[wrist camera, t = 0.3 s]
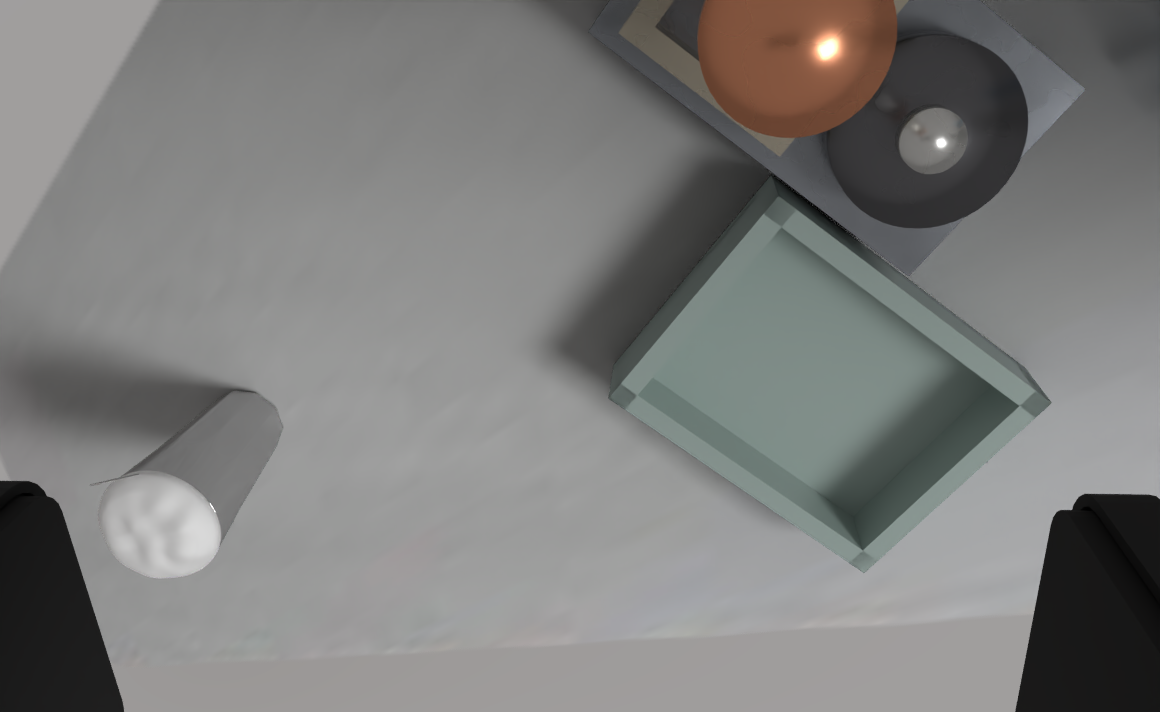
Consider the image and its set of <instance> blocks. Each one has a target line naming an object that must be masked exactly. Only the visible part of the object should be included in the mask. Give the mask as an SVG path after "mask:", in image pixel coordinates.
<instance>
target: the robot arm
mask: <svg viewBox="0 0 1160 712" xmlns="http://www.w3.org/2000/svg"><path fill="white" fill-rule="evenodd" d="M0 712H124V707H123V702H122V698H121V695H120V692H119V689H118V686H117V683H116V679H115V677H114V673H113V670H112V667H111V664H110V661H109V657H108V654H107V651H106V648H105V645H104V642H103V639H102V635H101V632H100V629H99V626H98V623H97V620H96V617H95V613H94V610H93V607H92V604H91V601H90V598H89V595H88V591H87V588H86V585H85V582H84V579H83V576H82V573H81V569H80V566H79V563H78V560H77V557H76V554H75V551H74V547H73V544H72V541H71V538H70V535H69V532H68V529H67V525H66V522H65V519H64V516H63V513H62V510H61V508H60V506H59V504H58V503H57V502H56V501H55V500H54V499H53V498H51V497H48V496H46V494H45V492H44V490H43V489H42V488H41V487H40V486H39V485H38V484H35V483H32V482H30V481H0ZM1015 712H1160V499H1159V498H1158V497H1156V496H1152V495H1132V494H1084V495H1082V496H1080V497H1078V499H1077V500H1076V502H1075V504H1074V506H1073V509H1072V510H1060V511H1058V512H1057V513H1056V514H1055V516H1054V517H1053V520H1052V524H1051V528H1050V533H1049V538H1048V543H1047V549H1046V554H1045V559H1044V564H1043V569H1042V575H1041V580H1040V585H1039V590H1038V596H1037V601H1036V606H1035V611H1034V617H1033V622H1032V628H1031V632H1030V638H1029V643H1028V648H1027V653H1026V659H1025V664H1024V669H1023V674H1022V679H1021V685H1020V690H1019V696H1018V701H1017V706H1016V711H1015Z"/></svg>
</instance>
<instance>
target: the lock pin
mask: <svg viewBox="0 0 1160 712" xmlns="http://www.w3.org/2000/svg"><path fill="white" fill-rule="evenodd" d="M896 40H897V15H896V8H895V4H894V0H705V1H704V4H703V7H702V10H701V13H700V18H699V23H698V33H697V45H698V56H699V61H700V67H701V71H702V74H703V77H704V80H705V82H706V85H707V87H708V89H709V91H710V93H711V94H712V96H713V97H714V99H715V100H716V102H717V103H718V104H719V105H720V107H721V108H722V109H723V110H724V111H725V112H726V113H727V114H728V115H729V116H730V117H731V118H733V119H734V120H735V121H737V122H738V123H740V124H741V125H743V126H744V127H747V128H749V129H751V130H753V131H755V132H758V133H761V134H764V135H768V136H773V137H779V138H798V137H806V136H811V135H816V134H819V133H822V132H825V131H827V130H830V129H832V128H834V127H836V126H838V125H840V124H842V123H843V122H845V121H846V120H848V119H849V118H851V117H852V116H853V115H854V114H856V113H857V112H858V111H859V110H861V109H862V108H863V107H864V105H865V104H866V103H867V102H868V101H869V100H870V99H871V98H872V97H873V95H874V94H875V93H876V91H877V90H878V89H879V87H880V85H881V83H882V82H883V80H884V78H885V77H886V74H887V72H888V70H889V67H890V65H891V62H892V58H893V55H894V52H895V46H896Z"/></svg>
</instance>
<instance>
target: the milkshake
mask: <svg viewBox="0 0 1160 712" xmlns="http://www.w3.org/2000/svg"><path fill="white" fill-rule="evenodd" d="M282 430H283V425H282V423H281V420H280V418H279V415H278V412H277V410H276V407H275V406H273V405H272V404H271V403H269V402H268V401H267V400H265V399H264V398H263V397H261V396H260V395H259V394H257V393H253V392H244V391H237V390H233V391H232V392H230V393H228V394H226V395H225V396H223V397H221V398H219V399H217V400H216V401H214V402H213V403H212V404H211V405H210V406H208V407H207V408H206V409H205V410H204V411H202V412H201V413H200V414H199V415H198V416H196V417H195V418H194V419H193V420H192V421H190V422H189V423H188V424H187V425H186V426H184V427H183V428H182V429H181V430H180V431H178V432H177V433H176V434H175V435H174V436H172V437H171V438H170V439H169V440H167V441H166V442H165V443H164V444H163V445H161V446H160V447H159V448H158V449H156V450H155V451H154V452H152V453H151V454H150V455H148V456H147V457H146V458H144V459H143V460H142V461H140V462H139V463H138V464H136V465H135V466H134V467H133V468H131V469H130V470H129V471H127V472H126V473H125V474H123V475H122V476H121V477H119V478H115V479H111V480H107V481H103V482H98V483H94V484H90V486H93V485H99V484H104V483H108V482H112V481H114V482H113V483H111V484H110V485H109V487H108V488H107V489H106V490H105V492H104V494H103V496H102V498H101V501H100V504H99V509H98V521H99V525H100V529H101V531H102V534H103V536H104V538H105V541H106V543H107V545H108V547H109V549H110V550H111V552H112V553H113V555H114V556H115V557H116V558H117V559H118V560H119V561H120V562H121V563H122V564H123V565H124V566H126V567H127V568H129V569H131V570H133V571H135V572H138V573H140V574H142V575H145V576H148V577H151V578H174V577H182V576H187V575H190V574H193V573H195V572H197V571H199V570H201V569H202V568H204V567H205V566H206V565H207V564H208V563H209V562H210V561H211V560H212V559H213V558H214V557H215V555H216V553H217V551H218V549H219V547H220V545H221V543H222V542H223V540H224V538H225V536H226V534H227V532H228V530H229V529H230V527H231V525H232V523H233V521H234V519H235V517H236V515H237V513H238V512H239V510H240V508H241V506H242V504H243V503H244V501H245V499H246V498H247V496H248V494H249V493H250V491H251V489H252V488H253V486H254V484H255V483H256V481H257V479H258V477H259V476H260V474H261V472H262V471H263V469H264V467H265V466H266V464H267V462H268V461H269V459H270V457H271V456H272V454H273V452H274V451H275V449H276V447H277V445H278V442H279V439H280V436H281V433H282Z"/></svg>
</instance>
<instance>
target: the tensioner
mask: <svg viewBox="0 0 1160 712" xmlns="http://www.w3.org/2000/svg"><path fill="white" fill-rule="evenodd" d="M704 1H705V0H610V1H609V2H608V4H607V5H606V6H605V8H604V9H603V11H602V12H601V14H600V15H599V17H598V18H597V20H596V21H595V23H594V24H593V25H592V27H591V28H590V30H589V31H588V32H589V33H590V34H591V35H592V36H594V37H595V38H596V39H598V40H599V41H600V42H602V43H603V44H604V45H606V46H607V47H608V48H610V49H611V50H612V51H613V52H615V53H616V54H617V55H619V56H620V57H621V58H623V59H624V60H625V61H627V62H628V63H629V64H631V65H632V66H633V67H634V68H636V69H637V70H638V71H640V72H641V73H642V74H644V75H645V76H646V77H648V78H649V79H650V80H652V81H653V82H654V83H655V84H657V85H658V86H659V87H661V88H662V89H663V90H665V91H666V92H667V93H669V94H670V95H671V96H673V97H674V98H675V99H676V100H678V101H679V102H680V103H682V104H683V105H684V106H686V107H687V108H688V109H690V110H691V111H692V112H694V113H695V114H696V115H697V116H699V117H700V118H701V119H703V120H704V121H705V122H707V123H708V124H709V125H711V126H712V127H713V128H715V129H716V130H717V131H718V132H720V133H721V134H722V135H724V136H725V137H726V138H728V139H729V140H730V141H732V142H733V143H734V144H736V145H737V146H738V147H739V148H741V149H742V150H743V151H745V152H746V153H747V154H749V155H750V156H751V157H753V158H754V159H755V160H757V161H758V162H759V163H760V164H762V165H763V166H764V167H766V168H767V169H768V170H770V171H771V172H772V173H774V174H775V175H776V176H778V177H779V178H780V179H781V180H783V181H784V182H785V183H787V184H788V185H789V186H791V187H792V188H793V189H795V190H796V191H797V192H799V193H800V194H801V195H802V196H804V197H805V198H806V199H808V200H809V201H810V202H812V203H813V204H814V205H816V206H817V207H818V208H820V209H821V210H822V211H823V212H825V213H826V214H827V215H829V216H830V217H831V218H833V219H834V220H835V221H837V222H838V223H839V224H841V225H842V226H843V227H844V228H846V229H847V230H848V231H850V232H851V233H852V234H854V235H855V236H856V237H858V238H859V239H860V240H862V241H863V242H864V243H865V244H867V245H868V246H869V247H871V248H872V249H873V250H875V251H876V252H877V253H879V254H880V255H881V256H883V257H884V258H885V259H886V260H888V261H889V262H890V263H892V264H893V265H894V266H896V267H897V268H898V269H900V270H901V271H902V272H904V273H905V274H906V275H907V276H909V275H910V274H911V273H912V272H913V271H914V270H915V269H916V268H917V267H918V266H919V265H920V264H921V263H922V262H923V261H924V260H925V259H926V257H927V256H928V255H929V254H930V253H931V252H932V251H933V250H934V249H935V248H936V247H937V246H938V245H939V244H940V243H941V242H942V241H943V240H944V238H945V237H946V236H947V235H948V234H949V233H950V232H951V231H952V230H953V229H954V228H955V227H956V226H957V225H958V224H959V223H960V222H961V221H962V219H963V218H964V217H966V216H968V215H969V214H971V213H973V212H975V211H976V210H978V209H979V208H981V207H982V206H983V205H985V204H986V203H987V202H989V201H990V200H991V199H992V198H993V197H994V196H995V195H996V194H997V193H998V192H999V191H1000V190H1001V189H1002V187H1003V186H1004V185H1005V184H1006V183H1007V181H1008V180H1009V178H1010V177H1011V175H1012V174H1013V172H1014V170H1015V169H1016V167H1017V165H1018V163H1019V161H1020V158H1021V157H1022V156H1023V155H1024V154H1025V153H1026V152H1027V151H1028V150H1029V149H1030V148H1031V147H1032V146H1033V145H1034V144H1035V143H1036V141H1037V140H1038V139H1039V138H1040V137H1041V136H1042V135H1043V134H1044V133H1045V132H1046V131H1047V130H1048V129H1049V128H1050V127H1051V126H1052V125H1053V124H1054V122H1055V121H1056V120H1057V119H1058V118H1059V117H1060V116H1061V115H1062V114H1063V113H1064V112H1065V111H1066V110H1067V109H1068V108H1069V107H1070V106H1071V105H1072V104H1073V102H1074V101H1075V100H1076V99H1077V98H1078V97H1079V96H1080V95H1081V94H1082V93H1083V92H1084V91H1085V90H1086V89H1085V88H1083V87H1082V86H1081V85H1080V84H1079V83H1077V82H1076V81H1075V80H1074V79H1073V78H1072V77H1070V76H1069V75H1068V74H1067V73H1066V72H1064V71H1063V70H1062V69H1061V68H1060V67H1058V66H1057V65H1056V64H1055V63H1054V62H1053V61H1051V60H1050V59H1049V58H1048V57H1047V56H1045V55H1044V54H1043V53H1042V52H1041V51H1039V50H1038V49H1037V48H1036V47H1035V46H1034V45H1032V44H1031V43H1030V42H1029V41H1028V40H1026V39H1025V38H1024V37H1023V36H1022V35H1020V34H1019V33H1018V32H1017V31H1016V30H1015V29H1013V28H1012V27H1011V26H1010V25H1009V24H1007V23H1006V22H1005V21H1004V20H1003V19H1001V18H1000V17H999V16H998V15H997V14H996V13H994V12H993V11H992V10H991V9H990V8H988V7H987V6H986V5H985V4H984V3H982V2H981V1H980V0H894V4H895V8H896V15H897V40H896V46H895V52H894V55H893V58H892V62H891V65H890V67H889V70H888V72H887V74H886V77H885V78H884V80H883V82H882V83H881V85H880V87H879V89H878V90H877V91H876V93H875V94H874V95H873V97H872V98H871V99H870V100H869V101H868V102H867V103H866V104H865V105H864V107H863V108H862V109H861V110H859V111H858V112H857V113H856V114H854V115H853V116H852V117H851V118H849V119H848V120H846V121H845V122H843V123H842V124H840V125H838V126H836V127H834V128H832V129H830V130H827V131H825V132H822V133H819V134H816V135H811V136H806V137H798V138H779V137H773V136H768V135H764V134H761V133H758V132H755V131H753V130H751V129H749V128H747V127H744V126H743V125H741V124H740V123H738V122H737V121H735V120H734V119H733V118H731V117H730V116H729V115H728V114H727V113H726V112H725V111H724V110H723V109H722V108H721V107H720V105H719V104H718V103H717V102H716V100H715V99H714V97H713V96H712V94H711V93H710V91H709V89H708V87H707V85H706V82H705V80H704V77H703V74H702V71H701V67H700V61H699V56H698V45H697V33H698V23H699V18H700V13H701V10H702V7H703V4H704Z"/></svg>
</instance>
